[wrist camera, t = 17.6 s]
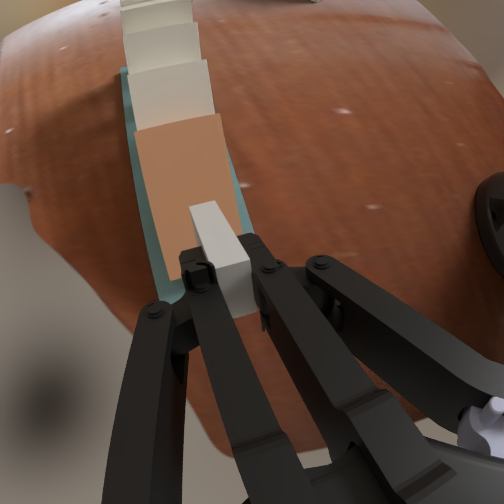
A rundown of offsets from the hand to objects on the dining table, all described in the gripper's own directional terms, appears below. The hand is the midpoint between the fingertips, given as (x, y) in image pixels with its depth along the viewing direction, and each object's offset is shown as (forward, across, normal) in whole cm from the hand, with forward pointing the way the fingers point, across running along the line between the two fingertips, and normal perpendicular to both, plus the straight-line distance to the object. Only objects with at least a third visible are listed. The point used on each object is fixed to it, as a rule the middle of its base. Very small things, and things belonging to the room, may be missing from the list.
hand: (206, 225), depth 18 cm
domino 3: (+9, 0, -2) cm, 9 cm away
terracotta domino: (+5, 0, -6) cm, 7 cm away
